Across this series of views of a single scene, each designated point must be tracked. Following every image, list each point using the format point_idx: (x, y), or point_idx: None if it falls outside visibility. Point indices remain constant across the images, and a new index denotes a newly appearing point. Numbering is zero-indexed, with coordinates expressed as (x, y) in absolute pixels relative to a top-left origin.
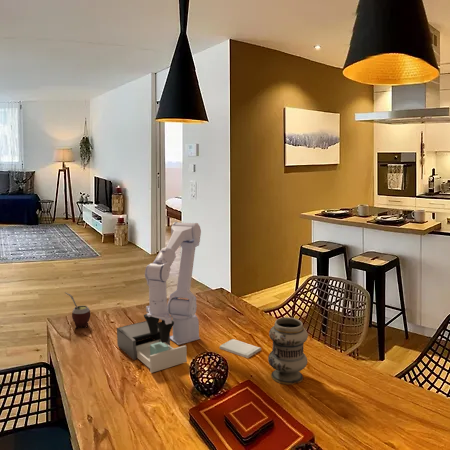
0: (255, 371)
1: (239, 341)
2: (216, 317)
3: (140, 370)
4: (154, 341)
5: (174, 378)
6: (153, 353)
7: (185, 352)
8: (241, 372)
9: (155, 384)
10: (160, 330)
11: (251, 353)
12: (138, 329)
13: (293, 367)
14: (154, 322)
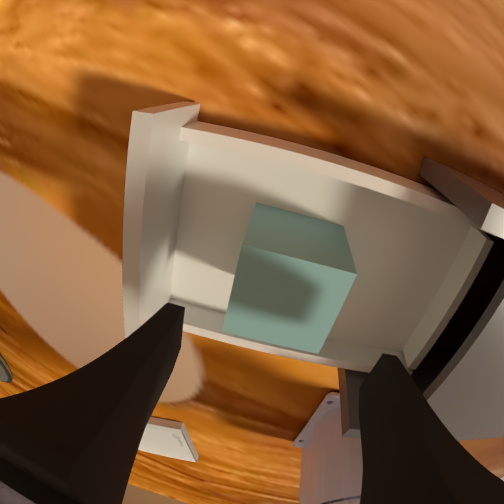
0: (17, 351)
1: (168, 455)
2: None
3: (278, 82)
4: (422, 347)
5: (73, 162)
6: (295, 232)
7: None
8: (21, 334)
9: (86, 57)
10: (66, 383)
11: None
12: None
13: None
14: (385, 474)
